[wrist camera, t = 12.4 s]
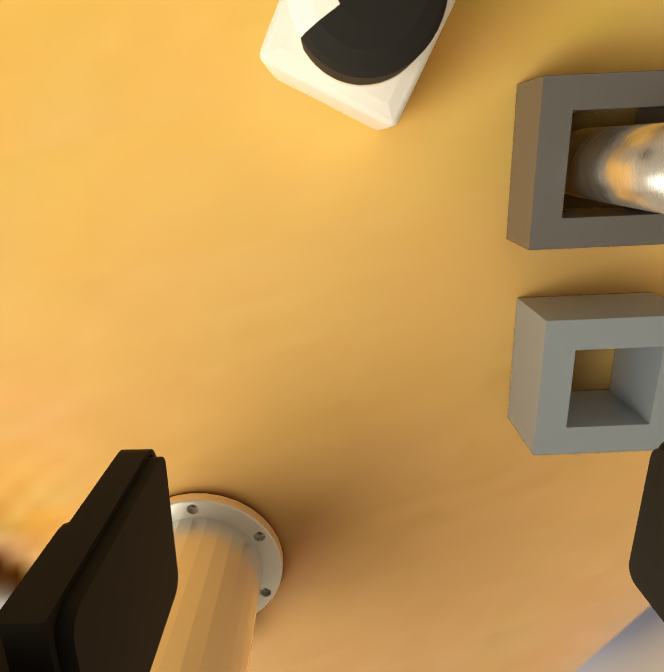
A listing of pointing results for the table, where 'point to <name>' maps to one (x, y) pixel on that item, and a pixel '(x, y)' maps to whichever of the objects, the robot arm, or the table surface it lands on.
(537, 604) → the table surface
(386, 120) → the medicine bottle
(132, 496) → the robot arm
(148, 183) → the table surface
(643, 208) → the steel rod
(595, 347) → the socket block
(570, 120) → the grey square ring
